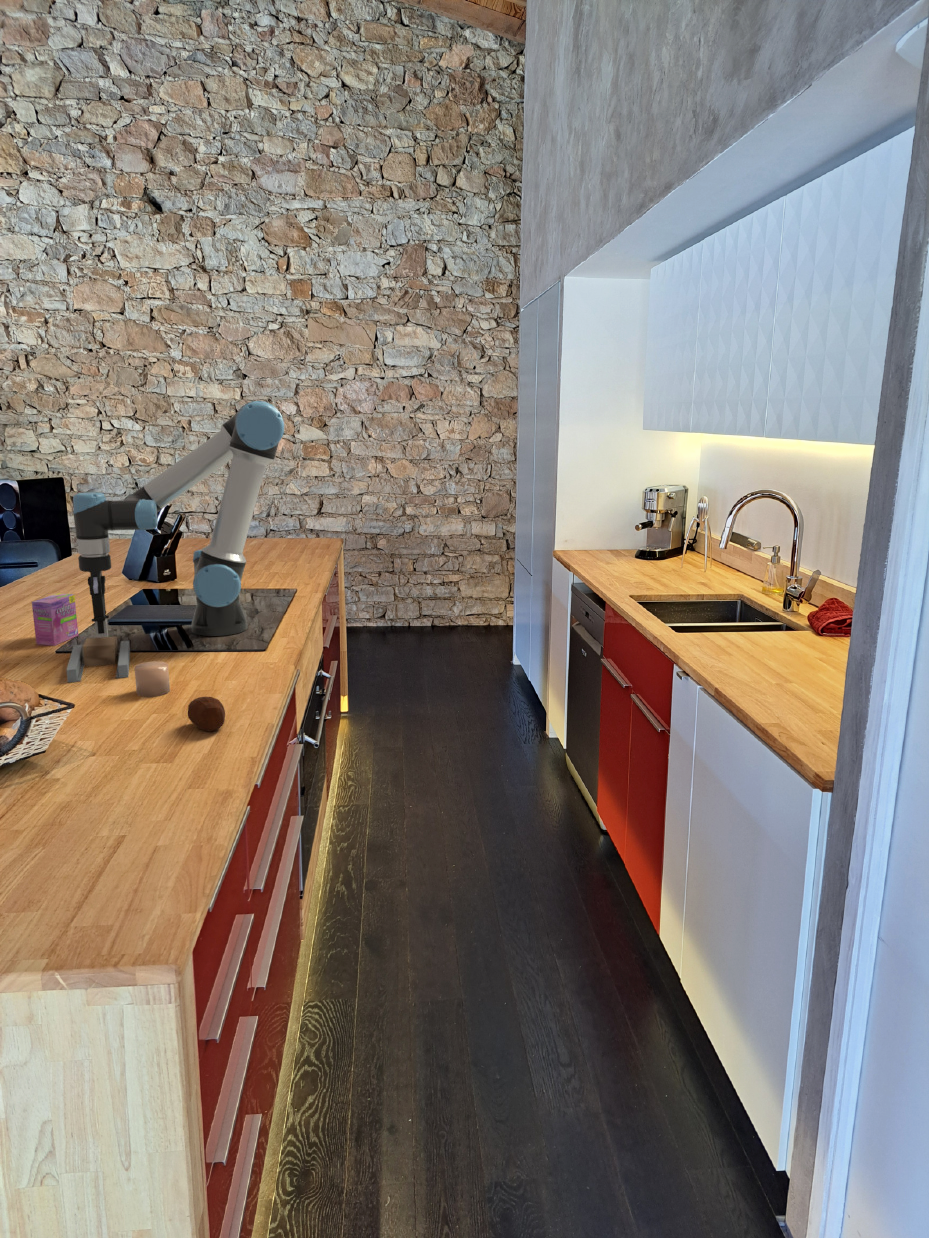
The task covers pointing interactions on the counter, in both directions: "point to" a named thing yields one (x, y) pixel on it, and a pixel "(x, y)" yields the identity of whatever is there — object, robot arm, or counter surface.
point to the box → (55, 619)
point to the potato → (206, 713)
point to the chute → (77, 665)
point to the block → (100, 651)
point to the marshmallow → (152, 679)
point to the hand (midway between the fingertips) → (102, 644)
